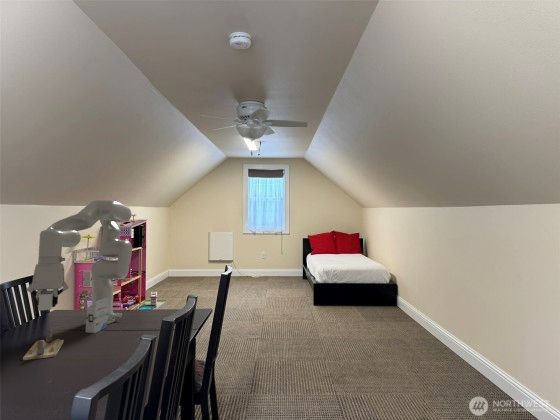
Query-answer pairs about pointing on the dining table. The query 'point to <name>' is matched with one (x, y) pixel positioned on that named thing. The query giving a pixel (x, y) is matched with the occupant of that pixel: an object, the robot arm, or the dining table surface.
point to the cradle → (44, 348)
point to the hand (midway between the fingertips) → (47, 306)
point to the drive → (46, 300)
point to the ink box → (97, 316)
